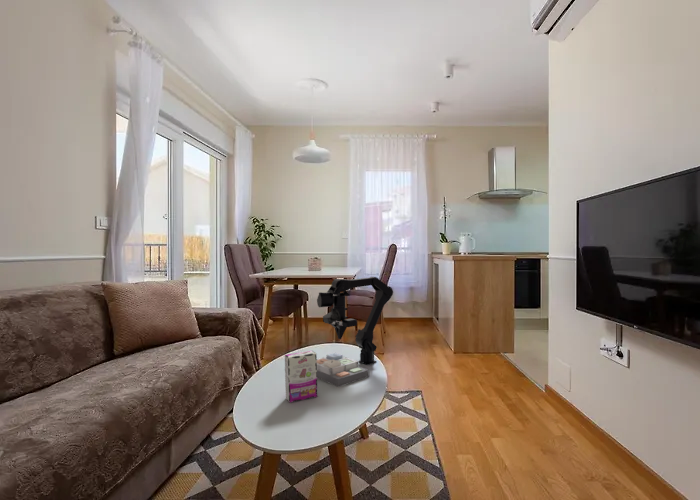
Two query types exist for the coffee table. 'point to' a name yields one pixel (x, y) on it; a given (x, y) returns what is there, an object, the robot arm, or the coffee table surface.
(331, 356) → the slate key
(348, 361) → the sage key
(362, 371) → the keypad
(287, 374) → the candy bar box
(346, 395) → the coffee table surface
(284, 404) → the coffee table surface
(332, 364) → the cream key
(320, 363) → the peach flat square block
